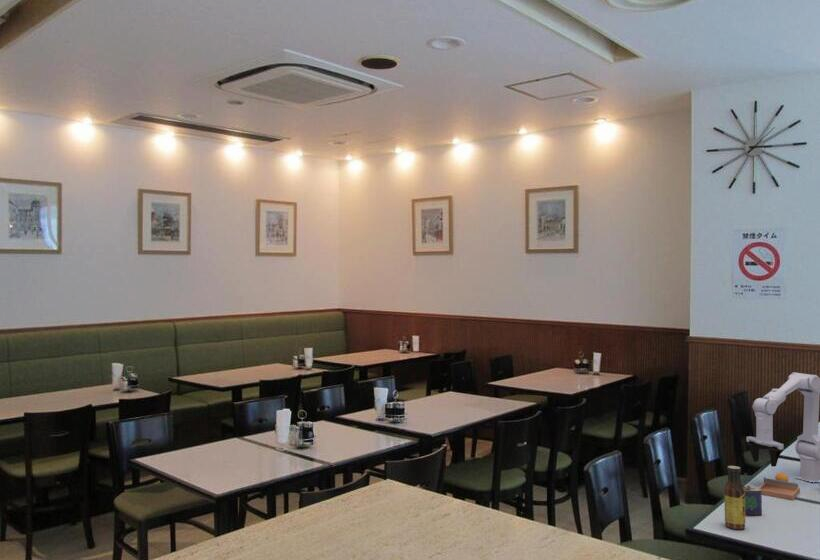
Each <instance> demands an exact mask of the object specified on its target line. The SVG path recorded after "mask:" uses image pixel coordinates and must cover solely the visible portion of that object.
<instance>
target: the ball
mask: <svg viewBox="0 0 820 560" xmlns="http://www.w3.org/2000/svg"><path fill="white" fill-rule="evenodd" d="M788 476H789V475H788V474H786V473H784V472H778V473H776V475H775V477H774V478H775V480H781V481H786V482H789V480H790V479H789V477H788Z"/></svg>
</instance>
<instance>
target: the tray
mask: <svg viewBox="0 0 820 560" xmlns="http://www.w3.org/2000/svg"><path fill="white" fill-rule="evenodd" d="M756 489H761V490H762V496H766V495H767V496H768V497H772V498H773V497H774V498H777V499H783V500H787V501H794V500H795V498H797V496H799V494H800V493H801V488H800V487H799V486H798V487H792V486H786V485H781V484H775V483H770V482H764V481H763V483H762V484H761V485H760V486H758V487H757V488H756ZM767 496H766V497H767Z"/></svg>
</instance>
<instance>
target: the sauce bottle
mask: <svg viewBox="0 0 820 560" xmlns="http://www.w3.org/2000/svg"><path fill="white" fill-rule="evenodd" d="M726 469H727V474H728V475H727V482H726V484H725V485H724V495H723V497H724V498H723V499H724V522H725V526H726V527H727V528H729V529H733V530H743V529H745V528H746V516H745V491H744V488H745V487H744V485H743V483H742V480H741V471H742V469H741V467H740V466H736V465H727V467H726Z"/></svg>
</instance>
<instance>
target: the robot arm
mask: <svg viewBox="0 0 820 560" xmlns="http://www.w3.org/2000/svg"><path fill="white" fill-rule="evenodd" d="M796 390H797V391H799V392H800V393H801V394H802V395H803V397H804V398H803V420H802V421H803V423H802V424H803V427H802V434H800V435H798V436H797V438H796V443H795V447H794V448H795V449H794V450H795V452H796V453H797V455H798V457H799V458H800V463H799V464H800V465H799V466H800V475H799V476H795V479H798V480H800V479H801V480H800V481H804V480H805V481H804V482H807V481H809V482H808V483H811V482H813V483H812V484H815V483H814V482H818V481H819V480H820V436H819V417H820V409H819V408H820V377H819V376H818V375H817V374H808V373H802V372H795V371H794V372H792V373H791V374H789V375H788V379H787V381H785V382H784V383H783V384H781V386H780V387H779V388H772V389H771V391H769V392H768V393H766V394H765V395H763V397H762V398H761V397H759V398H758V397H757V398H756V399H755V400H754V401H753V404H752V409H753V411H754V416H755V420H756V423H755V424H756V426H755V427H756V429H755V430H756V431H755V432H756V433H755V436H751V435H750V436H746V442H747V443H746V446H747V448H748V449H749V451H750V454H751V457H752V461H753V462H754V463H755V462H759V461H760V459H759V458H760V448H761V445H762V446H764V447H765V446H766V447H771V448H768V452H769V456H770V465H771V467H777V465H778V461H779V458H780V456H781V454H782V452H783V450H784V443H781V442H778V441H776V440H774V435H773V434H774V432H773V431H774V428H773V427H774V425H773V421H774V419H773V418H774V417H773V416H774V414H775V413H776V411H777V408H779V407H778V406H780V405H781V404H782V403H783V402H785V401H786V398H787V396H788V395H790V394H791V393H792V392H794V391H796ZM818 483H819V482H818Z"/></svg>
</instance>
